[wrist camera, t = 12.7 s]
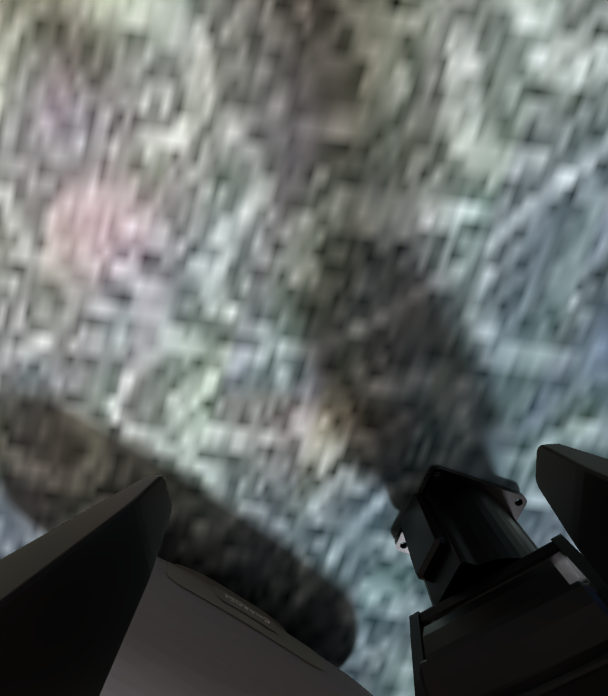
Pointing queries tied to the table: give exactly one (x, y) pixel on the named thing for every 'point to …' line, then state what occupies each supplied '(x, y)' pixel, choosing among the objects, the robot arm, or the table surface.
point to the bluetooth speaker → (214, 646)
